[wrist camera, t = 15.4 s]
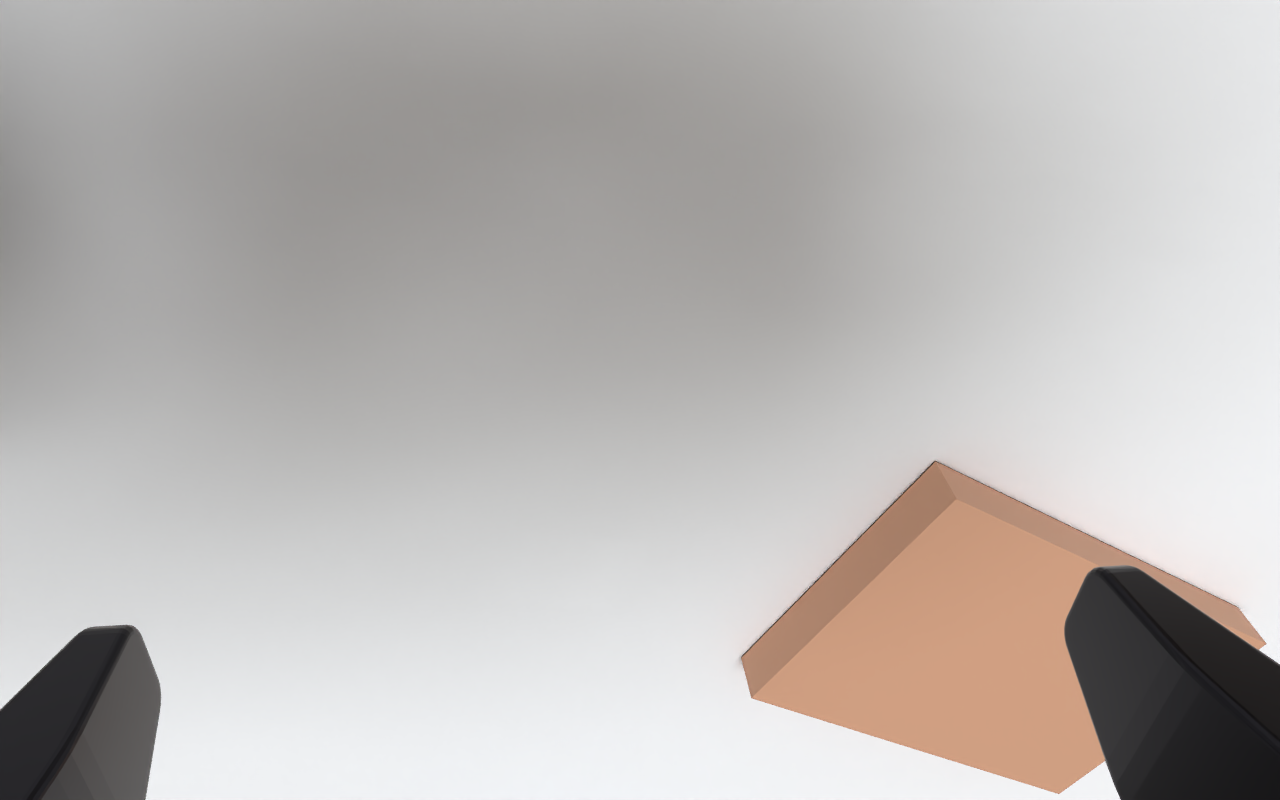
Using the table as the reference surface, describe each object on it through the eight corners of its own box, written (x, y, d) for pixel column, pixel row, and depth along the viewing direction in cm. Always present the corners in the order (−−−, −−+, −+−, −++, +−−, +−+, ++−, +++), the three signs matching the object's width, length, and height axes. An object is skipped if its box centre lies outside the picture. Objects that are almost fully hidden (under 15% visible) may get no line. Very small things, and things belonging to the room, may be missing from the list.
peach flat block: (741, 657, 31) (751, 697, 30) (935, 461, 27) (956, 498, 26) (1040, 756, 37) (1059, 793, 35) (1237, 607, 32) (1266, 643, 31)
